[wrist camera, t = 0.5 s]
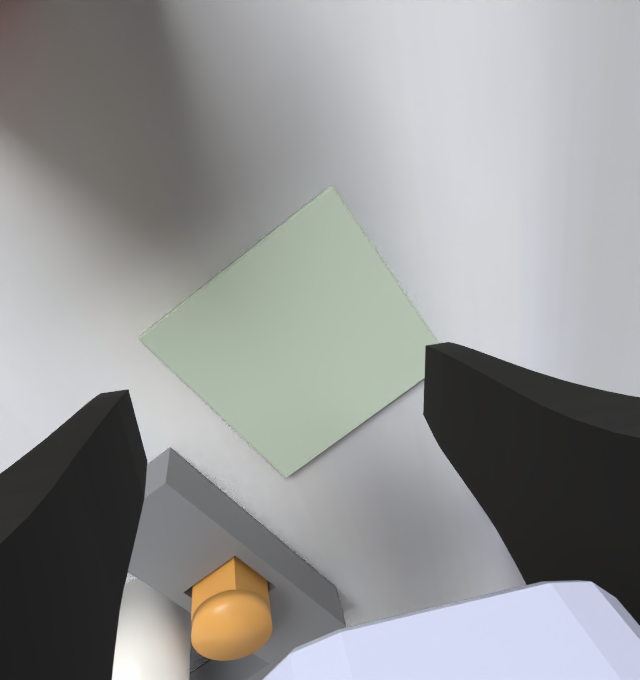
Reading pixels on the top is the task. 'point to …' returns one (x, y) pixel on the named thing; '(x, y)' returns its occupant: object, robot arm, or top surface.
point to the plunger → (230, 612)
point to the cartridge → (151, 636)
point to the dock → (217, 548)
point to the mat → (297, 336)
